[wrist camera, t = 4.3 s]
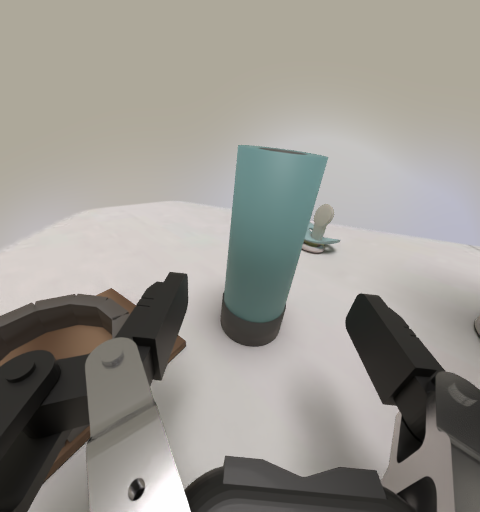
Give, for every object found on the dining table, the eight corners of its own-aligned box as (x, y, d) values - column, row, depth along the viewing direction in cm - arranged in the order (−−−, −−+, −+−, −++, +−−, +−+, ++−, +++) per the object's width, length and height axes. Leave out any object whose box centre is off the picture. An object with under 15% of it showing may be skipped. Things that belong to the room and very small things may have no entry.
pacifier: (308, 259, 29) (341, 253, 31) (321, 215, 26) (356, 212, 28) (280, 236, 35) (309, 232, 37) (287, 198, 31) (319, 196, 34)
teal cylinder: (241, 293, 21) (262, 145, 14) (288, 316, 19) (338, 157, 12) (208, 324, 17) (217, 143, 11) (262, 358, 15) (315, 159, 9)
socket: (112, 293, 19) (106, 269, 18) (185, 346, 15) (184, 320, 14) (-140, 423, 10) (-191, 393, 9) (-115, 633, 6) (-198, 638, 5)
